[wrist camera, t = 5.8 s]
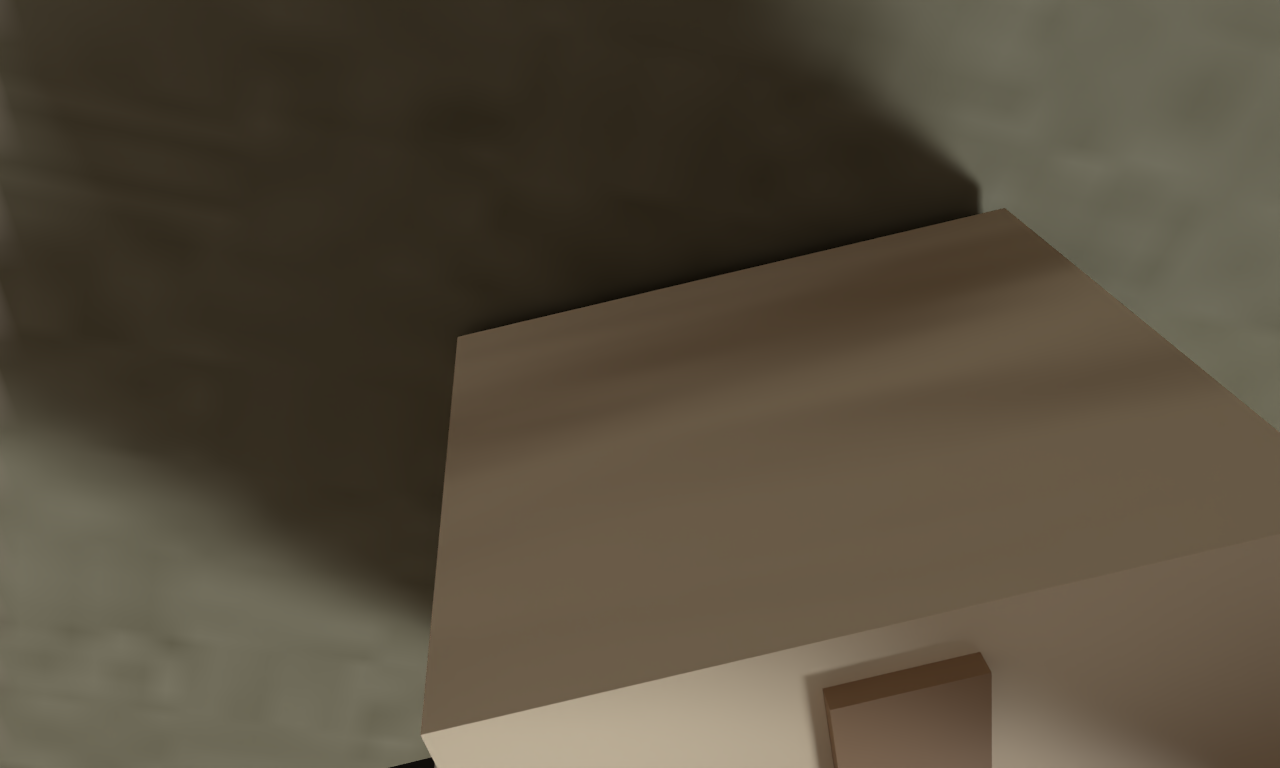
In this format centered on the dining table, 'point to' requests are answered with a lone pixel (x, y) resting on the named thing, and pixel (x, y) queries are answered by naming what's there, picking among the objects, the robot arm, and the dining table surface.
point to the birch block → (855, 527)
